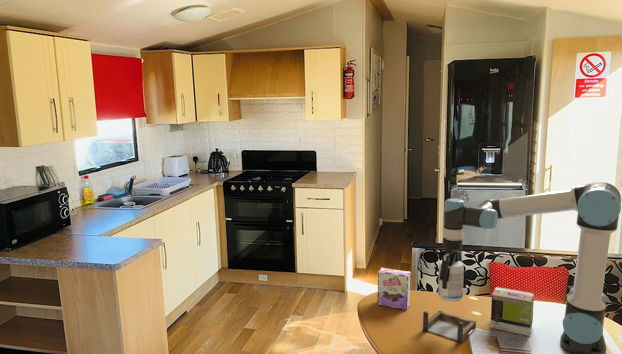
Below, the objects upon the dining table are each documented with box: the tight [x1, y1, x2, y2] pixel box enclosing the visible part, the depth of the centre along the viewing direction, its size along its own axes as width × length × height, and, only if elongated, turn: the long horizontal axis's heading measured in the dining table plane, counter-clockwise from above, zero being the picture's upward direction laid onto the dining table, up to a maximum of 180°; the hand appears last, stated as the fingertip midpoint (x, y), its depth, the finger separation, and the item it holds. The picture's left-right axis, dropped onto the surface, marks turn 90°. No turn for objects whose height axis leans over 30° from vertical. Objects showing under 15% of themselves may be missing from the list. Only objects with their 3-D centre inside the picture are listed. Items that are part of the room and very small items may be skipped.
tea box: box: [490, 286, 535, 337], centre depth 194 cm, size 15×10×15 cm
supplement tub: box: [437, 259, 465, 303], centre depth 189 cm, size 10×10×15 cm
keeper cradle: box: [422, 310, 477, 344], centre depth 193 cm, size 16×16×8 cm
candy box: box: [377, 267, 412, 311], centre depth 214 cm, size 14×6×16 cm, turn 67°
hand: (450, 291), depth 190 cm, fingers closed on supplement tub, 9 cm apart
